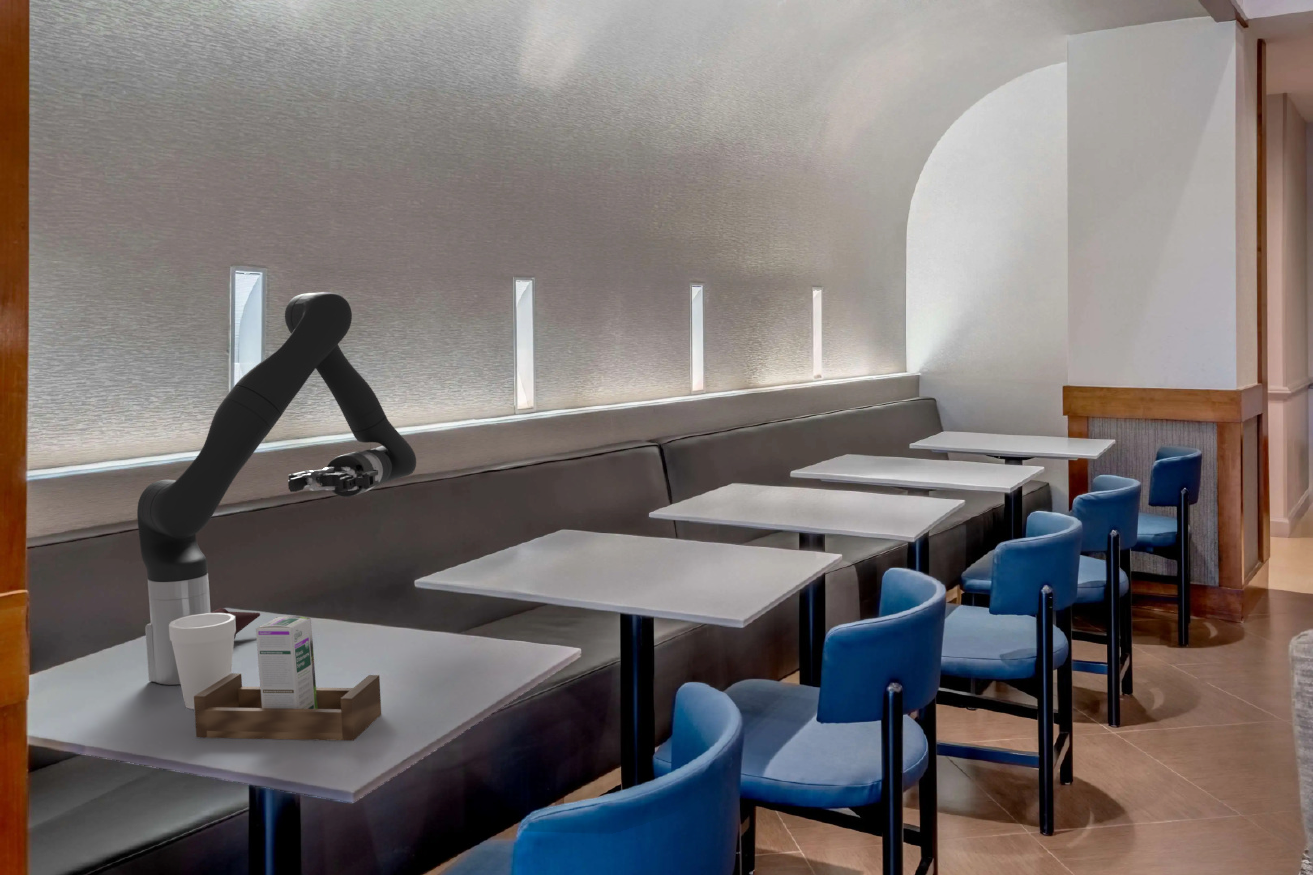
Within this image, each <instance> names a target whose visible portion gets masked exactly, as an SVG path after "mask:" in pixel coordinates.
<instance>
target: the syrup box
mask: <svg viewBox="0 0 1313 875" xmlns="http://www.w3.org/2000/svg"><path fill="white" fill-rule="evenodd" d="M255 633H256V634H255V636H256V646H257V649H256V650H257V661H258V663H257V664H258V676H259V685H260V686H259V687H260V689H261V702H262V708H284V709H318V707H317V694H316V687H317V685H316V684H317V681H316V668H315V657H314V656H315V654H314V642H313V640H314V639H313V628H312V618H311V617H309V616H308V617H307V616H300V615H298V616H297V615H296V616H295V615H293V616H292V615H291V616H280V617H279V616H276V617H275V618H274V619H272V620H270V621H268V622H265V623H264V624H262V625H259V626H257V627H256V628H255Z"/></svg>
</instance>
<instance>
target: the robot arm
mask: <svg viewBox="0 0 1313 875" xmlns="http://www.w3.org/2000/svg"><path fill="white" fill-rule="evenodd" d="M352 315H353V312H352V309H351V306H350V303H349V302H348V301H347V299H345V298H344V297H343V296H341V295H340V294H337V293H334V292H323V291H322V292H321V291H320V292H308V293H307V292H306V293H301V294H298V295H296V296H294V297H292V298H291V299H290V301H289V302H288V303H287V305H286V307H285V311H284V321H285V325H286V327H287V330H288V331H289V333H290V335H289V336H288V338H287V339H286V340H285V341H284V342H283V344H281V346H279V348H278V349H277V350H275V351H274V352H273V353H271V354H270V355H268V357H266V358H265V359H263V360H262V361H260V362H259V363H258V364H256V365H255V366H254V367H252V368H251V369H250V370H248V372H247V373H246V374H244V375H243V376H242V377H241V378H240V379H239V380H238V381H237V382H236V384H234V386H233V387H232V389H230V391H229V393H228V394H227V395H226V396H225V397H224V399H223V400H222V401H221V403H220V404H219V406H218V408H217V409H216V411H215V413H214V415H213V418H212V420H211V423H210V426H209V429H208V433H207V435H206V439H205V442H204V443H203V446H202V448H201V450H200V452H199V453H198V455H197V456H196V457H195V458H194V460H193V461H192V462H191V464H189V466H188V467H187V468H186V470H185V471H183V473H182V474H181V475H180V476H179V477H178V478H177V479H176V480H175V479H162V480H156V481H154V482H152V483H151V484H149V485H148V486H146V488H144V490H143V491H142V493H141V494H140V497H139V499H138V503H137V510H136V511H137V514H136V515H137V516H136V517H137V518H136V519H137V528H138V535H139V536H138V537H139V538H138V539H139V547H140V554H141V560H142V561H143V564H144V566H145V568H146V569H145V570H146V576H147V589H148V600H149V601H148V602H149V603H148V604H149V616H150V622H149V623H147V624H146V625H145V627H144V628H145V643H146V657H147V658H146V660H147V673H148V681H149V682H154V683H157V684H159V685H166V686H167V685H181V684H180V679H179V674H178V669H177V665H176V660H175V655H174V651H173V646H172V641H171V640H170V635H169V624H170V623H171V622H172V621H174V620H176V619H179V618H182V617H187V616H191V615H198V614H205V613H211V612H212V611H211V600H210V599H211V598H210V584H209V581H210V580H209V573H208V572H209V570H208V569H209V568H208V560H207V557H206V556H205V554H204V553H203V552H202V550H201V549H200V546H199V543H198V540H197V534H198V533H199V532H201V530H202V529H204V528H205V526H206V525H208V523H209V521H210V520H211V518H212V517H213V515H214V514H215V512H216V510H217V508H218V507H219V505H220V503H221V501H222V500H223V498H224V496H225V494H226V493H227V491H228V489H229V488H230V486H231V484H233V481H234V480H235V478H236V477H237V476H238V474H239V472H240V471H241V470H242V469H243V467H244V466H245V465H246V463H247V462H248V461H249V459H250V458H251V457H252V455H253V454H254V453H255V451H256V450H257V448H258V447H259V446H260V445H261V443H262V442H263V441H264V440H265V438H266V437H267V435H268V434H269V433H270V431H272V430H273V428H274V427H275V425H276V424H277V422H278V421H279V420H280V418H281V417H282V416H283V414H284V413H285V411H286V409H287V408H288V407H289V406H290V404H291V403H292V401H293V400H294V398H295V397H296V396H297V394H298V393H300V390H301V389H302V388H303V386H304V385H305V383H306V382H307V381H308V379H309V378H310V376H311V375H312V374H313V372H314V371H315V370H316V371H317V373H318V375H320V377H321V378H322V380H323V382H324V383H325V385H326V386H327V388H328V389H329V391H330V393H331V394H332V396H333V399H335V401H336V403H337V405H338V407H339V409H340V411H341V414H342V415H343V417H344V418H345V420H346V423H347V425H348V428H349V429H350V430H351V432H352V435H353V437H354V438H355V440H356V441H358V442H359V443H365V444H367V443H369V444H370V443H375V444H379V445H381V446H378V447H374V448H371V449H365V450H362V451H360V450H359V451H353V452H349V453H344V454H342V455H338V456H336V457H334V458H333V459H331V460H330V461H329V463H328V464H327V466H326V467H324V468H323V469H322V468H321V469H314V470H304V471H300V472H299V471H298V472H294V473H290V474H287V476H288V480H287V481H288V482H287V486H288V490H289V491H290V493H295V492H299V491H303V490H310V491H313V492H316V491H324V490H325V491H331V492H332V493H334V495H337V496H339V497H342V498H352V497H354V496H358V495H360V494H362V493H366V492H368V491H370V490H372V489H373V488H375V487H378V486H380V485H382V484H385V483H388V482H391V481H395V480H397V479H401V478H404V477H405V478H406V477H407V476H410V475H411V474H413V473H414V472H415V470H416V467H417V457H416V454H415V451H414V449H413V448H412V447H411V444H409V443H408V441H407V440H406V439H405V438H404V437H403V435H401V434H400V433H399V432H398V431H397V429H396V428H395V427H394V426H393V424H392V423H391V422H390V421H389V419H388V417H387V415H386V413H385V411H384V409H383V406H382V405H381V402H380V400H379V399H378V397H377V394H376V393H375V392H374V390H373V389H372V387H371V386H370V384H369V383H368V382H367V381H366V380H365V378H364V377H363V376H362V375H361V374H360V373H359V372H358V371H357V369H355V367H354V366H353V365H352V363H351V362H350V361H349V360H348V358H347V357H346V356H345V354H344V353H343V351H342V349H341V347H340V346H339V343H340V342H341V341H342V340H343V339H344V338H345V337H346V335H347V334H348V332H349V330H350V328H351V325H352V320H353V316H352Z"/></svg>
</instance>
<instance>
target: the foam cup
mask: <svg viewBox="0 0 1313 875" xmlns="http://www.w3.org/2000/svg"><path fill="white" fill-rule="evenodd" d="M235 632H236V622H235V616H234V615H232V614H226V613H205V614H198V615H191V616H187V617H182V618H179V619H176V620H174V621H172V622H171V623H170V624H169V635H170V640H171V641H172V646H173V651H174V655H175V660H176V665H177V669H178V674H179V679H180V684H179V685H180V686H181V687H180V688H181V692H182V697H183V701H184V704H185V705H184V706H185V707H186V708H188V709H190V710H195V708H194V696H195V695H197V694H198V693H200V692H202V691H203V690H205V689H206V688H208V687H210V686H211V685H213V684H215V683H216V682H218V681H220V680H221V679H223V678H225V677H226V676H228V675H229V674H231V673H232V668H233V658H234V657H233V656H234V645H235V644H234V643H235V639H234V634H235Z"/></svg>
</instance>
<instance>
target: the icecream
mask: <svg viewBox="0 0 1313 875" xmlns="http://www.w3.org/2000/svg"><path fill="white" fill-rule="evenodd" d="M210 612H211V613H226V614H232V615H234V616H235V622H236V632H235V634H234V640H235V639H236V637H237V634H238V633H240V632H241V631H242V630H243V629H244V628H246V627H247V626H249V625H250V624H251V623H252V622H253V621H255V620H256V619H258V618H259V617H260V616H261V613H260V612H254V611H253V612H249V611H229V610H227V609H226V608H223V607H222V606H220V607H219V608H217V609H215V610H213V611H210Z"/></svg>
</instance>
